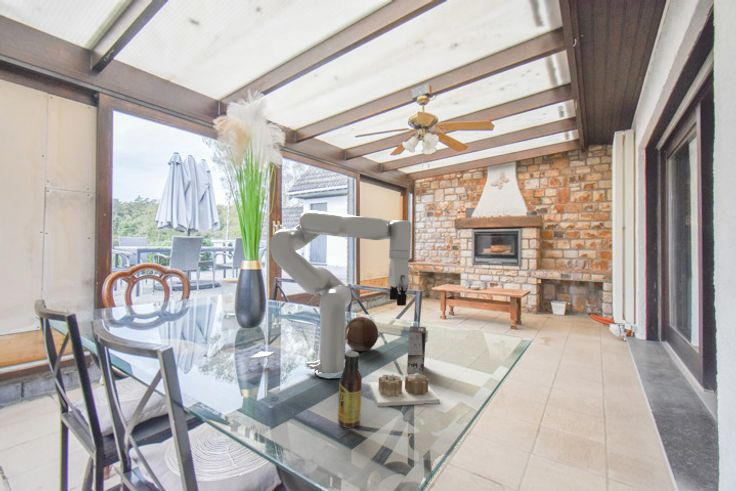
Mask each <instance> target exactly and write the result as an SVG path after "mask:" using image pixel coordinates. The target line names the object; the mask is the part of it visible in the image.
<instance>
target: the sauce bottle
mask: <svg viewBox="0 0 736 491" xmlns="http://www.w3.org/2000/svg"><path fill="white" fill-rule="evenodd" d="M359 360H360V352H359V351H356V350H353V351H352V350H349V351H345V364H344V366H345V367H344V370H343V373H342V376H341V378H340V379H339V383H338V402H337V403H338V407H337V420H338V424H339V425H340V426H341V427H342V428H348V429H350V428H355V427H358V425H359V424H360V421H361V407H362V390H363V387H362V382H363V379H362V374H361V372H360V371H359Z"/></svg>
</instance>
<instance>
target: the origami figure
mask: <svg viewBox="0 0 736 491" xmlns="http://www.w3.org/2000/svg"><path fill="white" fill-rule="evenodd" d="M271 356H274V357H275V359H276V360H274V361H273V362H272V364H274V363H276V362H278V361H279V360H280V359H279V356H278V355H277V352H276V351H259V352H257V353H255V354H254V355H253V356H250V357H249V359H248V360H247V361H246V362H245V363H244V365H245V366H246V367H248V369H249V368H251V369H252V366H250V365H248V363H249V362H251V361H252V360H257V361H258V364H261V359H265V358H266V360H267V363H266V365H265V366H266V368H267V366H268V365H269V364H270V362H271V360H270V357H271ZM268 367H269V366H268Z"/></svg>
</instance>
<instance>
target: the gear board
mask: <svg viewBox="0 0 736 491" xmlns="http://www.w3.org/2000/svg"><path fill="white" fill-rule="evenodd" d="M387 375H388V380H389V381H393V375H394V374H387ZM368 386H369V390H370V391H371V394H372V396H373V398H374V401H375V403H376V405H377V407H391V406H392V407H393V406H405V405H406V406H408V405H410V406H411V405H425V404H424V403H429V404H439V403H440V397H438V395H437V394H436V393H435V392H434V391H433V389H432V388H431V387H430V385H429V378H427V376H426V375H424V374H423V375H420V374H418V373H415V374H412V373H407V375H405V377H404V380H402V393H399V396H390V397H388V396H386V395H384V394H380V390H378V388H379V381H372V382H370V381H369V382H368Z"/></svg>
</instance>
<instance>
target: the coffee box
mask: <svg viewBox="0 0 736 491" xmlns="http://www.w3.org/2000/svg"><path fill="white" fill-rule="evenodd" d="M408 330H409V331H408V341H407V342H408V343H407V345H408V346H407V359H406V360H407V362H406V363H407V364H406V374H415V373H418V374H420V375H423V376H424V368H425V359H426V358H425V355H426V337H427V336H426V333H427V332H426V331H427V327H426V326H417V325H416V326H413V325H412V326H410V327H409V329H408Z"/></svg>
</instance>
